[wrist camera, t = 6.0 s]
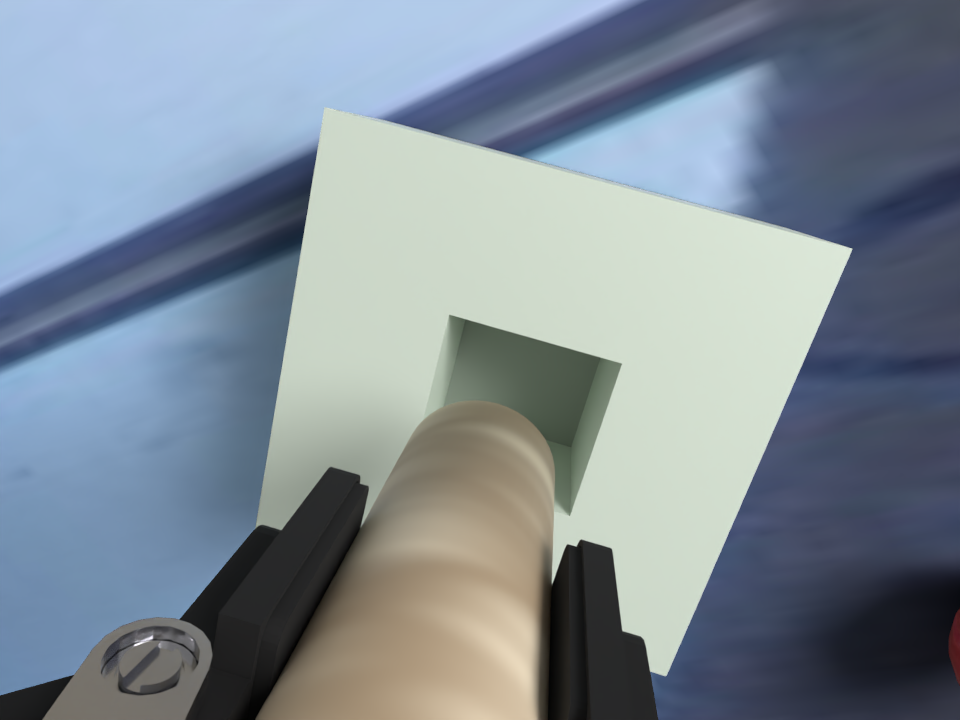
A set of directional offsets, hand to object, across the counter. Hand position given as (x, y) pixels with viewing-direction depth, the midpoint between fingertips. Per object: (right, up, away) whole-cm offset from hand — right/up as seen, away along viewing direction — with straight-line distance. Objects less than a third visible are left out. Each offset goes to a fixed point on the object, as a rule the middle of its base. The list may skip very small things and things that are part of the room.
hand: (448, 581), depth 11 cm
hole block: (+2, +4, +13) cm, 14 cm away
